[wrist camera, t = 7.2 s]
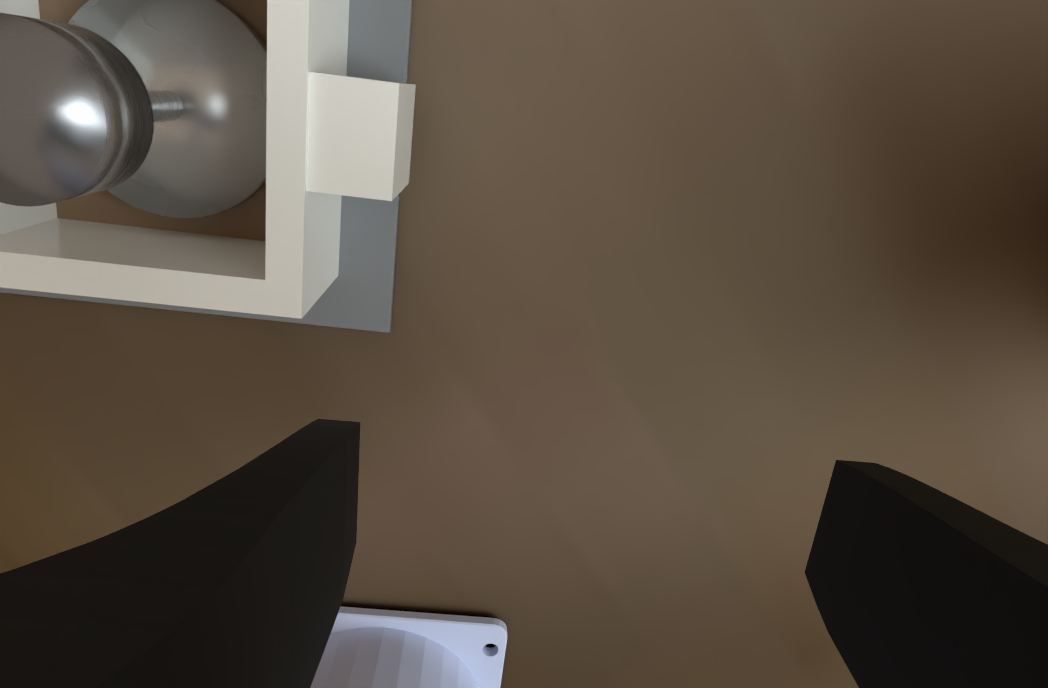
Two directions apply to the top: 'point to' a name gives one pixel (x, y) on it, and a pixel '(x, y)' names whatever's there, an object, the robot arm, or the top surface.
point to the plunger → (134, 106)
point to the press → (276, 207)
